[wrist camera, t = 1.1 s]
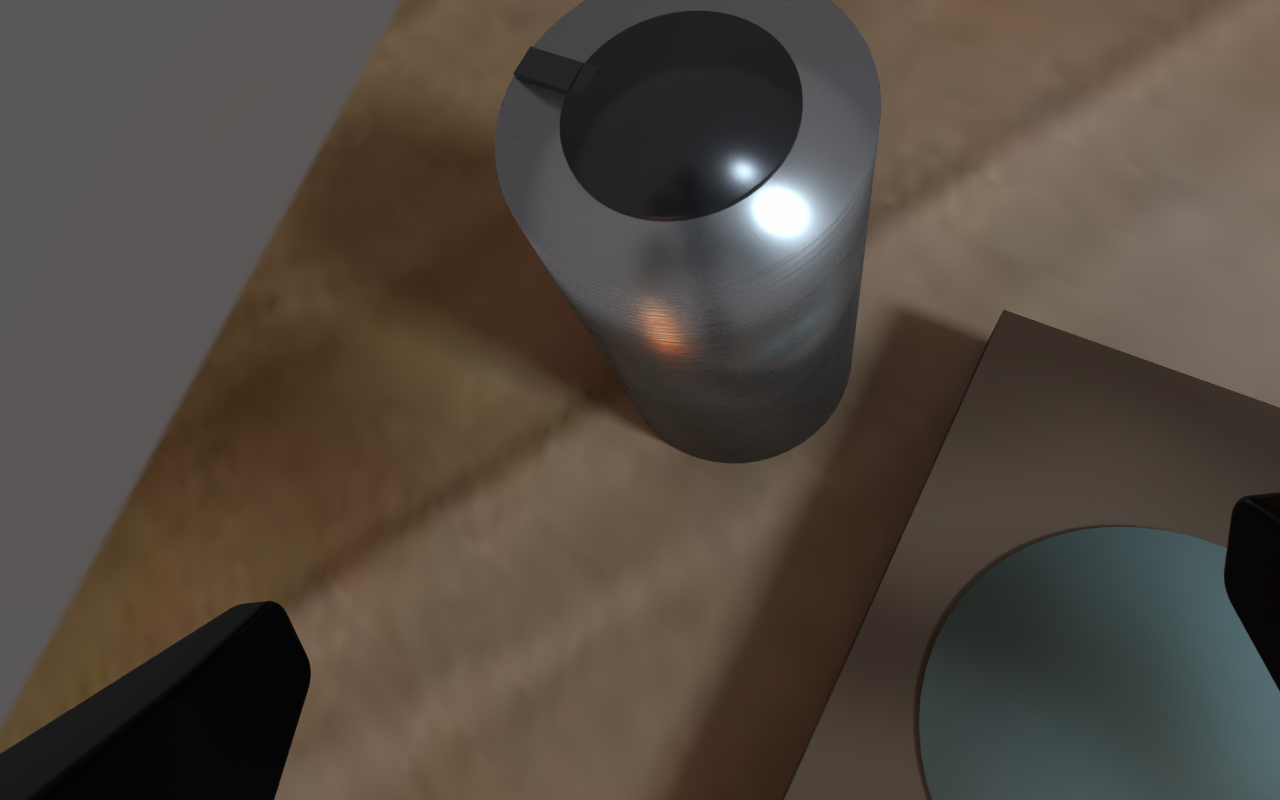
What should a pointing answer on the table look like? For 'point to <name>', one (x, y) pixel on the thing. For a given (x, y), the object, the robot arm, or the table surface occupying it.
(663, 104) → the silver metal cylinder
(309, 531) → the table surface
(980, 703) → the walnut board
